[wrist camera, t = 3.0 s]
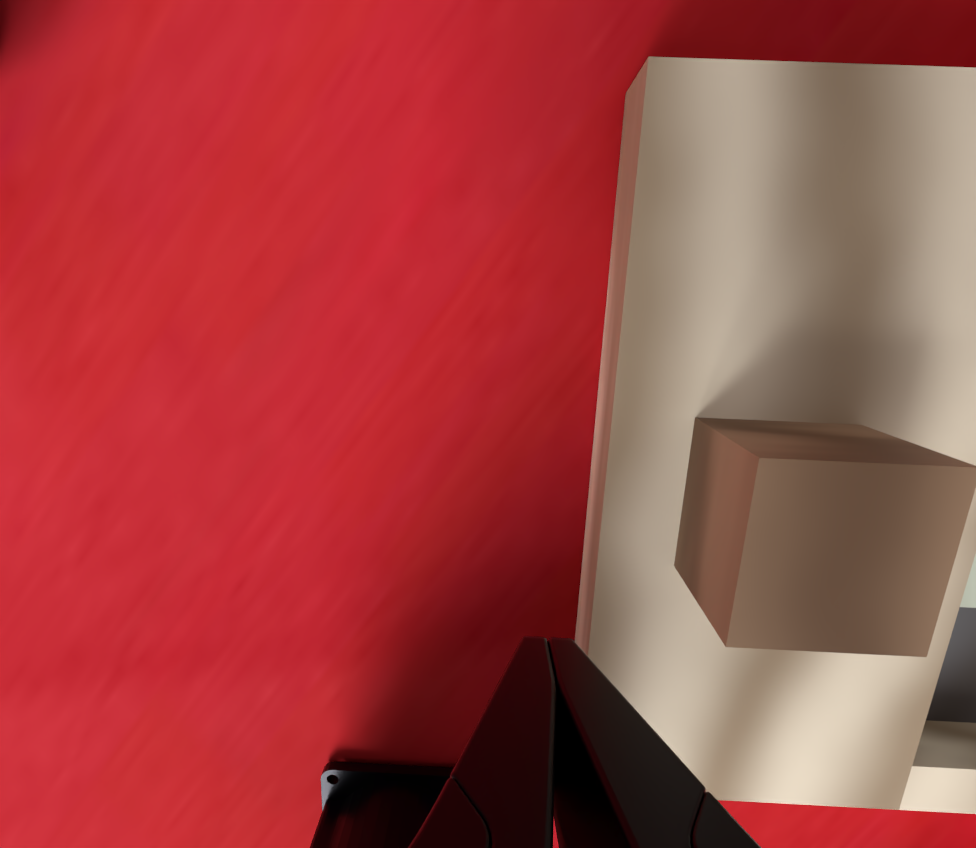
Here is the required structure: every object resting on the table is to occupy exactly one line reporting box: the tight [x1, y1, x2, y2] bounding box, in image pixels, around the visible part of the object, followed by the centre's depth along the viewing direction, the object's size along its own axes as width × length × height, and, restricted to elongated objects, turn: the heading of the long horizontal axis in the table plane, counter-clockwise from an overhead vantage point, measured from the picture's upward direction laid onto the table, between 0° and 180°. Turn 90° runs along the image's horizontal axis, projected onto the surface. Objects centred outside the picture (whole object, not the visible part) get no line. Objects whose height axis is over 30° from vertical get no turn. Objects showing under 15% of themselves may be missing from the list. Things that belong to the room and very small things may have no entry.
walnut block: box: [674, 417, 976, 657], centre depth 14 cm, size 5×5×4 cm
